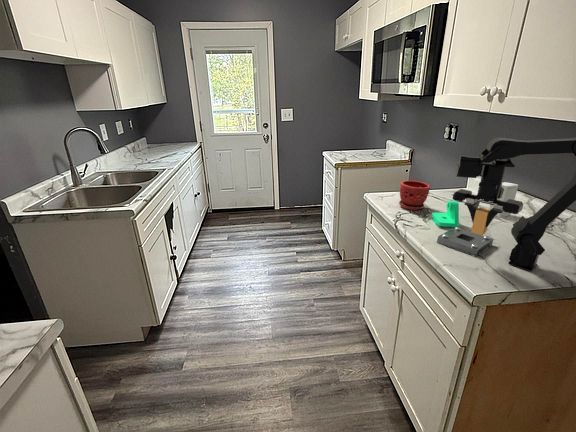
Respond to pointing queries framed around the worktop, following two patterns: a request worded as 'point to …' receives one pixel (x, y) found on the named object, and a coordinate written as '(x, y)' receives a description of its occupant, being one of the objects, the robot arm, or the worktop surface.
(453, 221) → the camera mount
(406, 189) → the plant pot
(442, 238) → the grey square hole plate
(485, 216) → the tan square peg
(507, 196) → the skincare box
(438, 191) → the worktop surface
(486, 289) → the worktop surface
